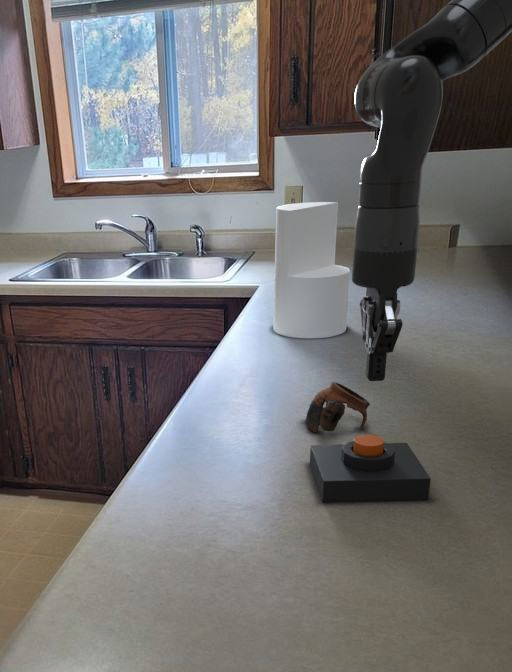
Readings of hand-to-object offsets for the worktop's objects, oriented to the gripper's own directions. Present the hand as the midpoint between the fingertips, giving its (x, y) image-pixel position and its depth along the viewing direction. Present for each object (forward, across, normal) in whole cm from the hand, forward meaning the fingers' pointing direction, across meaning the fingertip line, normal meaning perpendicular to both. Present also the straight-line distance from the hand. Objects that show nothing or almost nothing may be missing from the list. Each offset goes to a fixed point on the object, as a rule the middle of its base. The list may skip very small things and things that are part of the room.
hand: (374, 379), depth 98 cm
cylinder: (+16, +83, -4) cm, 85 cm away
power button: (+11, 0, 0) cm, 11 cm away
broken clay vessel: (+15, +20, +1) cm, 25 cm away
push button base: (+15, 0, 0) cm, 15 cm away
